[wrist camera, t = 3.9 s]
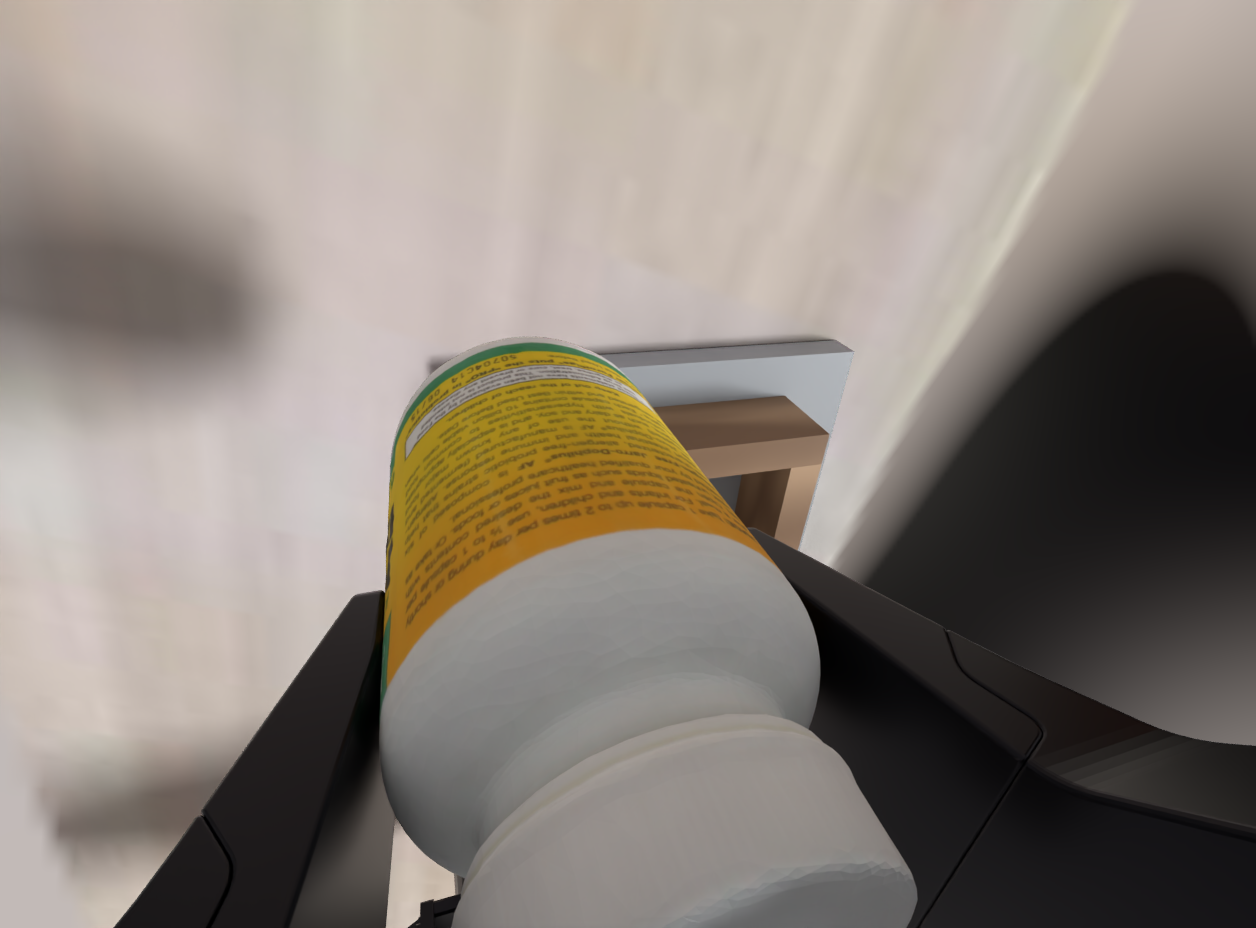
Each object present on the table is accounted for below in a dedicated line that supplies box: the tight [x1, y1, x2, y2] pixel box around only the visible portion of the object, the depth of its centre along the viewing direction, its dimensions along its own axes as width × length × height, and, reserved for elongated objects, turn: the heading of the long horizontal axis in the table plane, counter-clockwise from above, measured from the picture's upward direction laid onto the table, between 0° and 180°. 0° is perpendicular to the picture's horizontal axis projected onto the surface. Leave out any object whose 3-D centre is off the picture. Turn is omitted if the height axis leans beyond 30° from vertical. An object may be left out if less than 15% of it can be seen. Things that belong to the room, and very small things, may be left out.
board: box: [600, 340, 854, 551], centre depth 24 cm, size 12×14×1 cm
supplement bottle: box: [379, 337, 918, 928], centre depth 9 cm, size 5×5×10 cm
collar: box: [653, 396, 830, 550], centre depth 23 cm, size 9×9×3 cm
